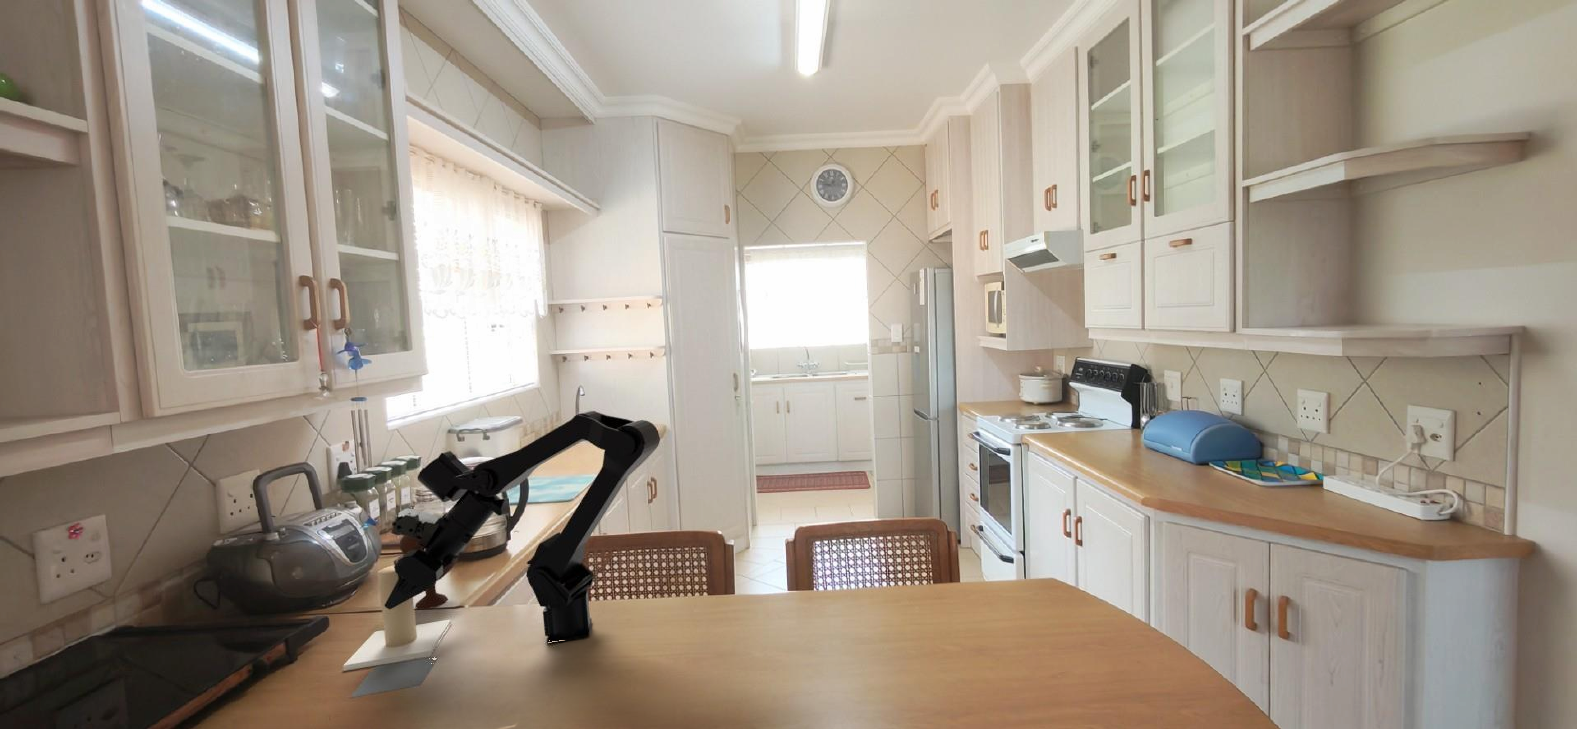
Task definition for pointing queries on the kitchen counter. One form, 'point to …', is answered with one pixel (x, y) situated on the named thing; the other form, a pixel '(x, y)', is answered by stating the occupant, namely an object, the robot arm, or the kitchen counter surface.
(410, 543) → the ice cream bowl
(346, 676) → the kitchen counter surface
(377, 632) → the cutting board
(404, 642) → the tan tapered rounded piece
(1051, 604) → the kitchen counter surface
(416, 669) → the mat
